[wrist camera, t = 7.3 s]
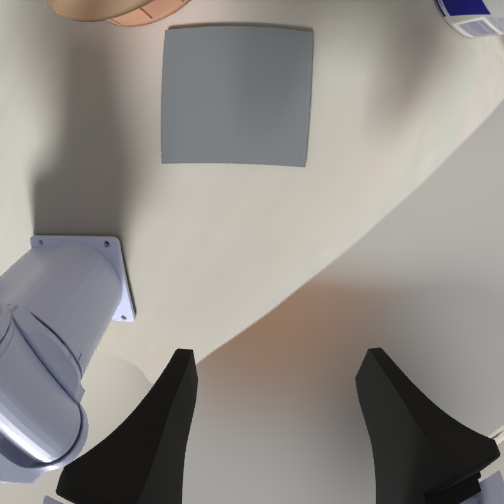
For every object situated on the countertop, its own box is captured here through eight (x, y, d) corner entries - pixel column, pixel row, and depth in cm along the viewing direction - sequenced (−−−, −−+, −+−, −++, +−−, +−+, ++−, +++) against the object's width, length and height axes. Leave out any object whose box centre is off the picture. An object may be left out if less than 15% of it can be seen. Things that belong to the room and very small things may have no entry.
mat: (163, 162, 17) (161, 163, 17) (166, 31, 13) (165, 30, 12) (304, 166, 17) (305, 167, 17) (311, 33, 13) (313, 32, 13)
